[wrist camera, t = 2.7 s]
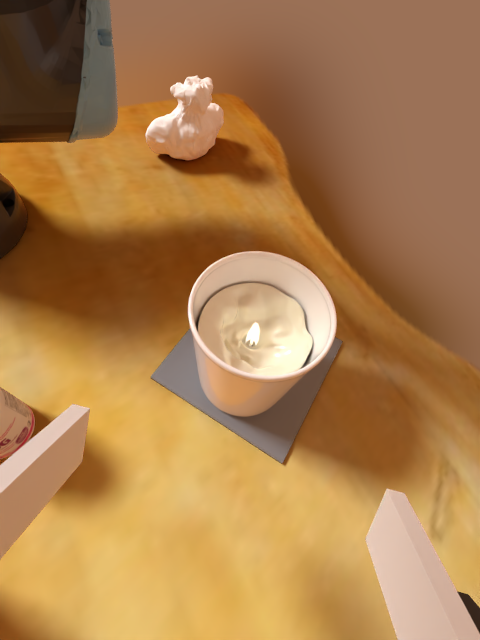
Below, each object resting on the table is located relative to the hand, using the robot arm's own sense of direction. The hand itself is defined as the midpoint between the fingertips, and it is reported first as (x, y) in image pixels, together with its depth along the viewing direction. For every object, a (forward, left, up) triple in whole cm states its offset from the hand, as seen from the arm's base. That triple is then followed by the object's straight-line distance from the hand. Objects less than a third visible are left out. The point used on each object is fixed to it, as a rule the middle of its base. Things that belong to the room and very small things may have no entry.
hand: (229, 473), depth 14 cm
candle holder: (-3, +10, -15) cm, 18 cm away
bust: (-27, +35, -15) cm, 47 cm away
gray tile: (-3, +12, -15) cm, 19 cm away
